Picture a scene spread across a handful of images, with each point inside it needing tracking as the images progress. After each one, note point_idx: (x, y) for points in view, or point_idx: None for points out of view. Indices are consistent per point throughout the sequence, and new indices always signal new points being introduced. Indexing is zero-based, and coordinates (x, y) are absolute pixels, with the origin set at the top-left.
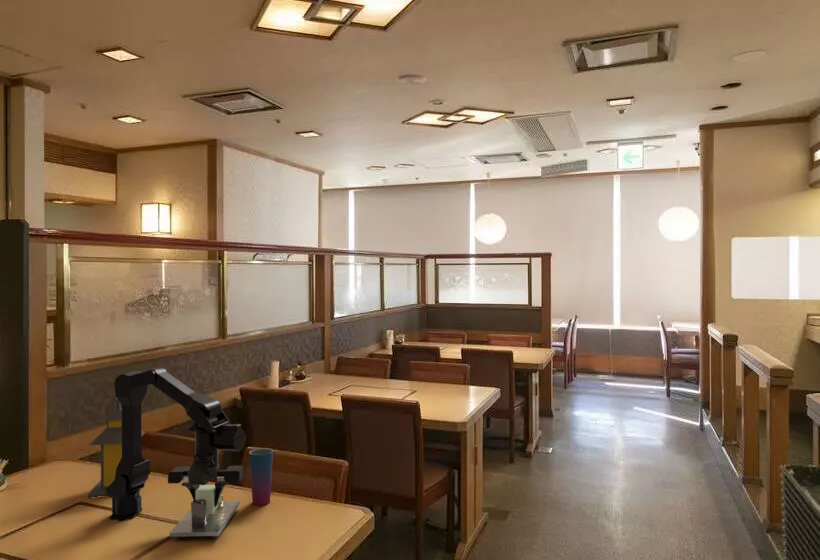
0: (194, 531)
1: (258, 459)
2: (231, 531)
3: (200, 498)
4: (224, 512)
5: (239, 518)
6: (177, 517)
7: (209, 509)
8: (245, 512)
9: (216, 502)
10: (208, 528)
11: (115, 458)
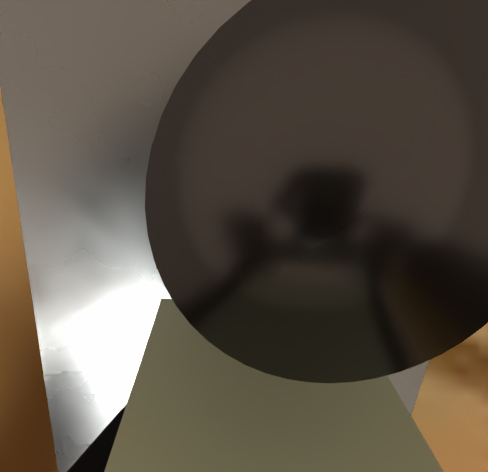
0: None
1: None
2: (3, 165)
3: (347, 462)
4: (111, 390)
5: (39, 375)
6: (452, 414)
7: (193, 327)
8: (36, 450)
9: (113, 431)
10: (139, 30)
11: None
